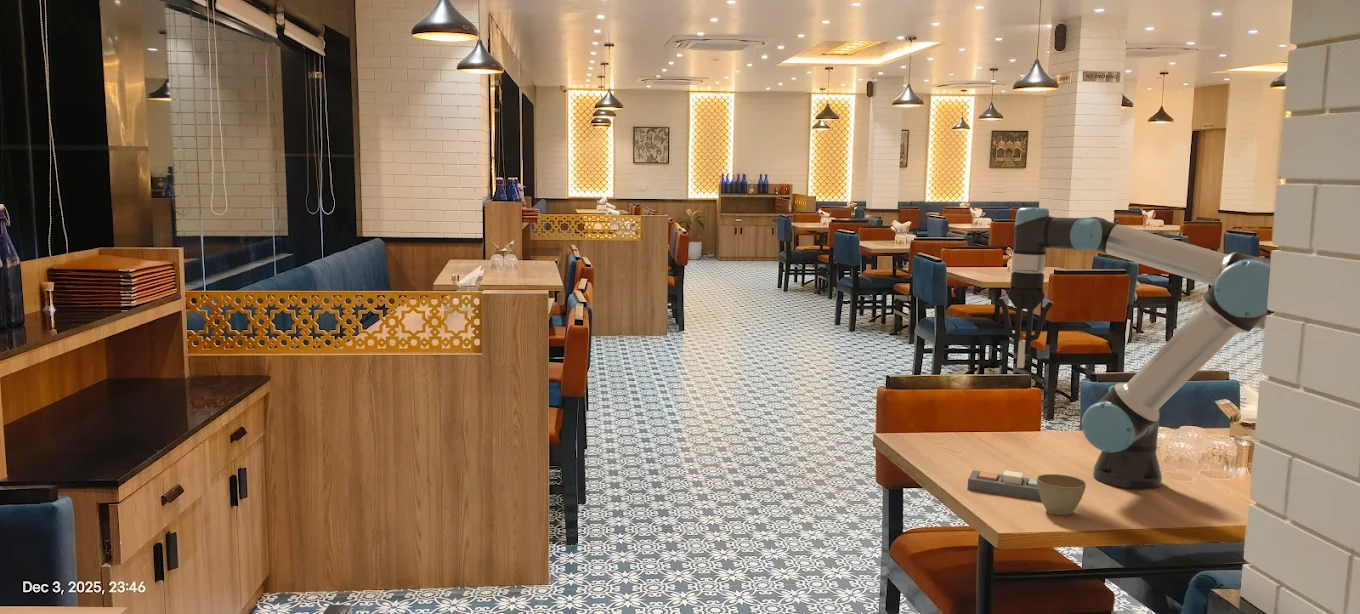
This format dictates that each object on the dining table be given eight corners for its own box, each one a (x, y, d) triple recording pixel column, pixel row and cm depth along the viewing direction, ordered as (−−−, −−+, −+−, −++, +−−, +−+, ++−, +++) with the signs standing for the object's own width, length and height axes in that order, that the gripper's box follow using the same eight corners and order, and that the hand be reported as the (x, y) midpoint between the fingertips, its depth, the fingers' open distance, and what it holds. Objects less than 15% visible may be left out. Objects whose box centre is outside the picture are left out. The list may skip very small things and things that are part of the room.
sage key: (1046, 491, 226) (1047, 481, 225) (1045, 496, 222) (1046, 485, 222) (1028, 488, 227) (1029, 478, 227) (1027, 493, 224) (1027, 483, 223)
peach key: (997, 484, 230) (998, 474, 230) (995, 488, 226) (996, 478, 226) (979, 481, 232) (980, 471, 231) (977, 486, 228) (978, 475, 228)
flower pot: (1071, 504, 218) (1073, 473, 217) (1091, 520, 208) (1094, 488, 207) (1027, 504, 218) (1029, 473, 217) (1045, 519, 208) (1047, 487, 207)
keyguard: (1056, 492, 227) (1057, 482, 226) (1054, 502, 219) (1055, 491, 219) (972, 479, 234) (972, 470, 234) (967, 488, 227) (968, 478, 227)
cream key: (1022, 483, 228) (1023, 473, 227) (1020, 488, 224) (1021, 477, 224) (1004, 480, 229) (1005, 470, 229) (1002, 485, 226) (1003, 474, 225)
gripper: (1057, 272, 237) (1049, 367, 240) (1001, 268, 243) (994, 361, 246) (1055, 274, 230) (1047, 372, 233) (998, 270, 236) (991, 366, 239)
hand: (1020, 366), depth 240 cm, fingers closed
